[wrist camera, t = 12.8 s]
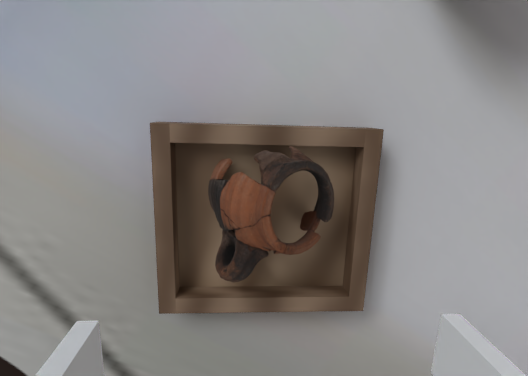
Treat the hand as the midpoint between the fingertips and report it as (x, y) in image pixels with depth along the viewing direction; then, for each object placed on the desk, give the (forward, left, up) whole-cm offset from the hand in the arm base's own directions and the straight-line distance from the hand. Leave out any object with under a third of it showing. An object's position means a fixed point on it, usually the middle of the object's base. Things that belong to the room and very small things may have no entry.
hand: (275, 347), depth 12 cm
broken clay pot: (0, +1, -18) cm, 18 cm away
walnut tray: (+1, -1, -19) cm, 19 cm away
